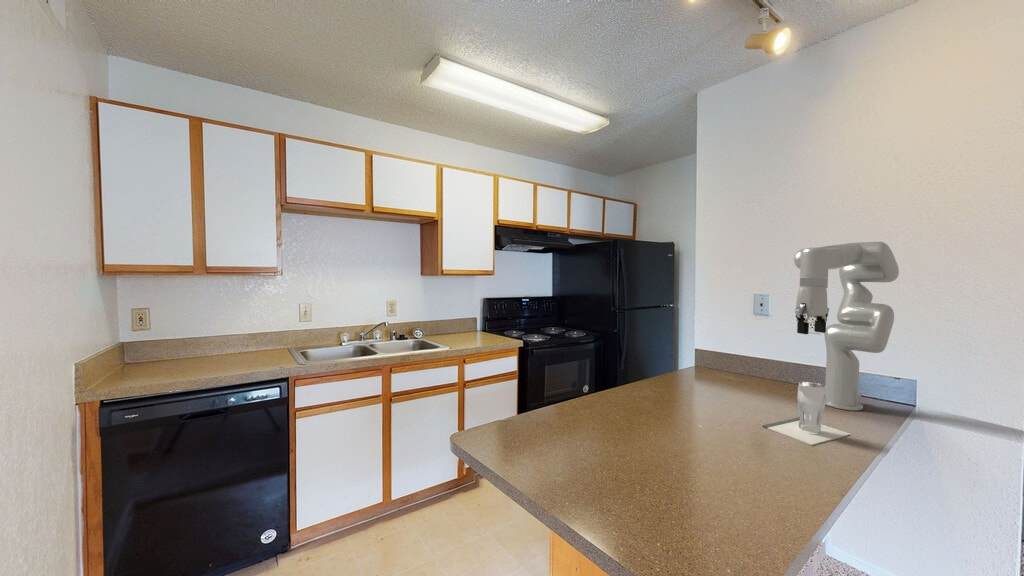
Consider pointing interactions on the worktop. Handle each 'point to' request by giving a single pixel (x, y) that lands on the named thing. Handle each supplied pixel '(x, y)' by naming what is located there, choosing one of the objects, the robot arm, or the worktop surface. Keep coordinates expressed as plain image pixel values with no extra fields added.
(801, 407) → the beer glass
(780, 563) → the worktop surface
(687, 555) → the worktop surface
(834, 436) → the mat
